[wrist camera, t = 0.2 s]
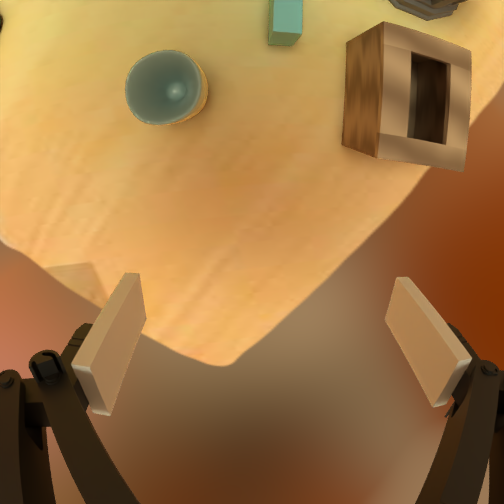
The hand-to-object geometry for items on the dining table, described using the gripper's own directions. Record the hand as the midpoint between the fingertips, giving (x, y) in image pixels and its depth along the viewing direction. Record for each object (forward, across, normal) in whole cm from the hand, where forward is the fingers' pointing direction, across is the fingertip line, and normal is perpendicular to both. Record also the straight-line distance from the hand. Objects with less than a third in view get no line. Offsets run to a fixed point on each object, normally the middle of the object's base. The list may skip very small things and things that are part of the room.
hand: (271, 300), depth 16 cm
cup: (+28, -9, +12) cm, 31 cm away
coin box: (+27, +17, +12) cm, 34 cm away
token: (+28, +3, +22) cm, 35 cm away
